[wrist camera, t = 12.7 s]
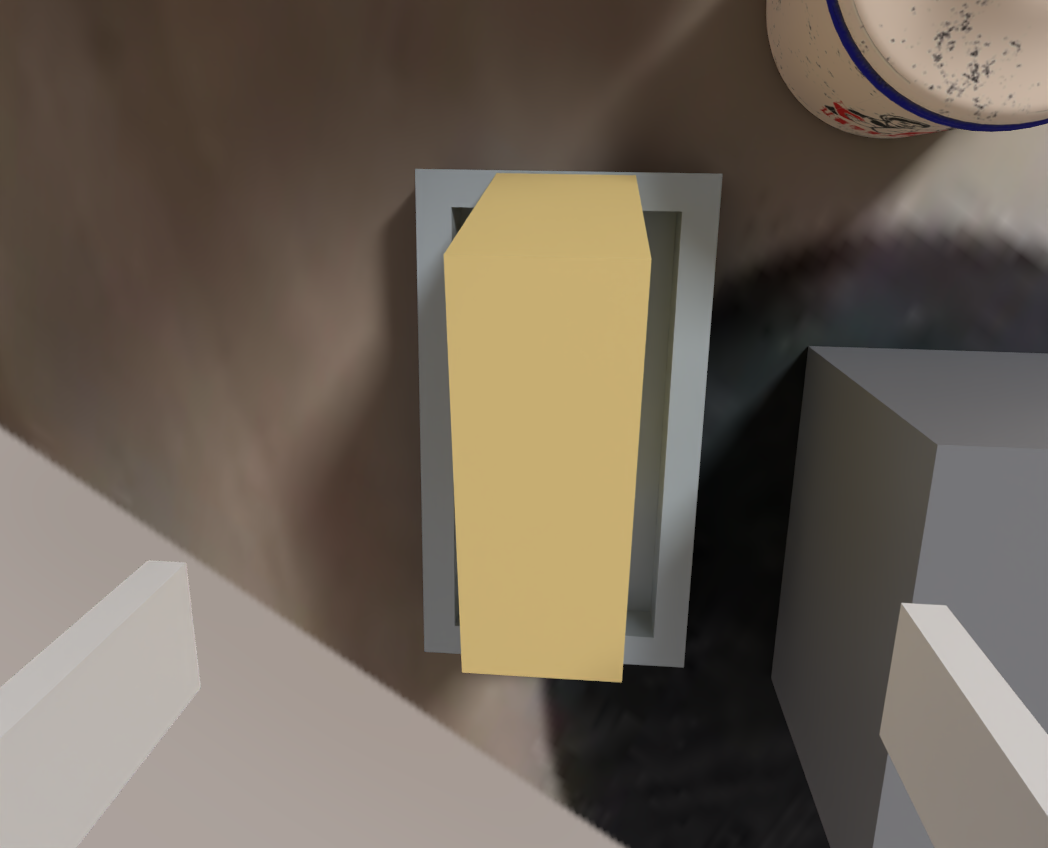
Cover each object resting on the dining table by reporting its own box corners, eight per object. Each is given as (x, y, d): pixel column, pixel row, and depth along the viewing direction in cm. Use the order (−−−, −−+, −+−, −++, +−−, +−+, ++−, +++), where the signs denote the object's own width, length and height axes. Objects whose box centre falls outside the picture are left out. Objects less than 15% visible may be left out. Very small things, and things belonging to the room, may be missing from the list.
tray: (431, 170, 30) (415, 168, 27) (711, 174, 29) (722, 173, 27) (437, 615, 35) (424, 651, 32) (677, 629, 34) (683, 667, 32)
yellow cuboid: (496, 173, 27) (443, 254, 18) (635, 175, 27) (651, 259, 18) (501, 489, 32) (462, 672, 24) (617, 495, 32) (621, 682, 23)
